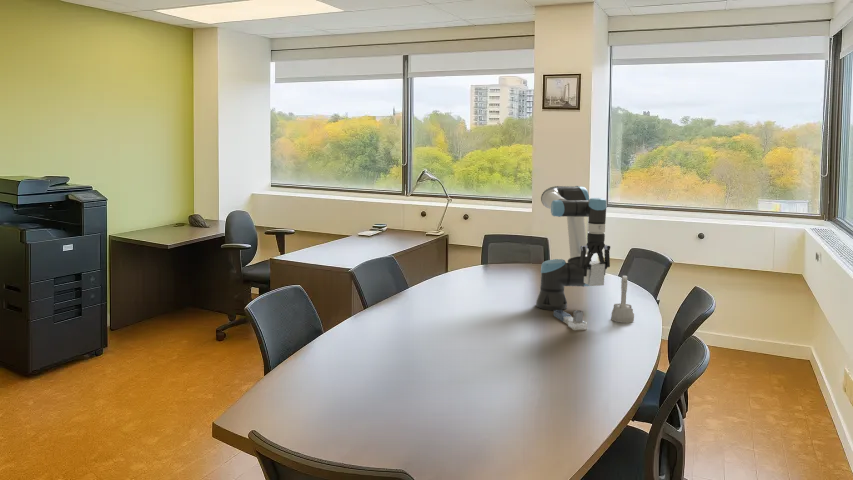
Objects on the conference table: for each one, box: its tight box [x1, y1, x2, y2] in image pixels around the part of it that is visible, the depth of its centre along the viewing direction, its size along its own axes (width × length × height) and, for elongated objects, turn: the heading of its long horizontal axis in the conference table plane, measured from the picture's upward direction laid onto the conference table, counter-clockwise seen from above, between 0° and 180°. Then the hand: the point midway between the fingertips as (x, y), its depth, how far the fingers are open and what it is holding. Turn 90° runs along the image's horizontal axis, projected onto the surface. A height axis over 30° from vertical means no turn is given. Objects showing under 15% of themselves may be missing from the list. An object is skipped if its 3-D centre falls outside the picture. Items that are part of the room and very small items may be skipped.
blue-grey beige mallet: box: [553, 309, 588, 331], centre depth 298 cm, size 24×6×8 cm, turn 13°
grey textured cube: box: [585, 260, 606, 287], centre depth 296 cm, size 7×7×10 cm
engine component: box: [610, 275, 635, 324], centre depth 303 cm, size 11×20×10 cm
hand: (593, 282), depth 297 cm, fingers closed on grey textured cube, 7 cm apart
